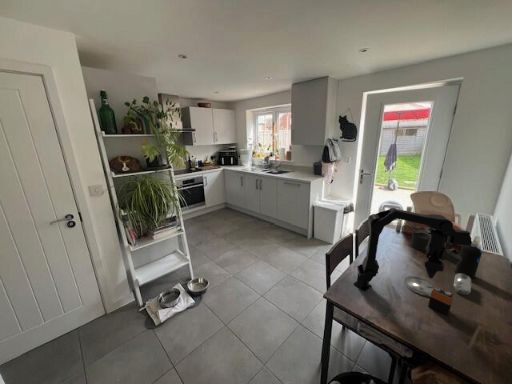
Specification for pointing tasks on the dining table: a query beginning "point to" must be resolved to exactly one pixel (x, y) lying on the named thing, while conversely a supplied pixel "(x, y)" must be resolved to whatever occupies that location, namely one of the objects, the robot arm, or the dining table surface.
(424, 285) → the flange plate
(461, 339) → the dining table surface
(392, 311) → the dining table surface
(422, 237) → the pen holder
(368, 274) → the robot arm
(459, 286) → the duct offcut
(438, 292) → the battery
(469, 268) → the aerosol can
